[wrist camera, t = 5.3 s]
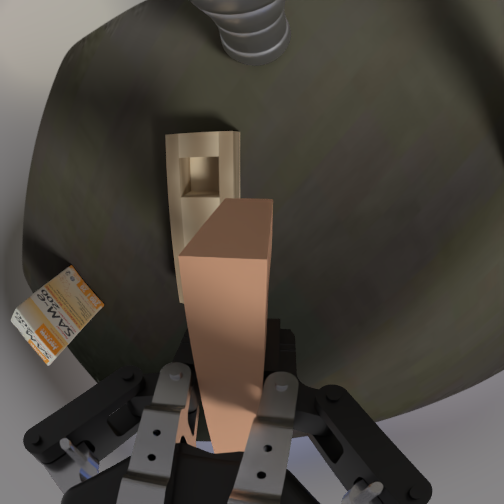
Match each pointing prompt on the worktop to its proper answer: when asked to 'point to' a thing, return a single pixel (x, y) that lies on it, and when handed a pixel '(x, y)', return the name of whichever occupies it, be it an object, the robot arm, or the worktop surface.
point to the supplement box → (56, 313)
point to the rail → (199, 182)
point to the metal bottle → (250, 28)
